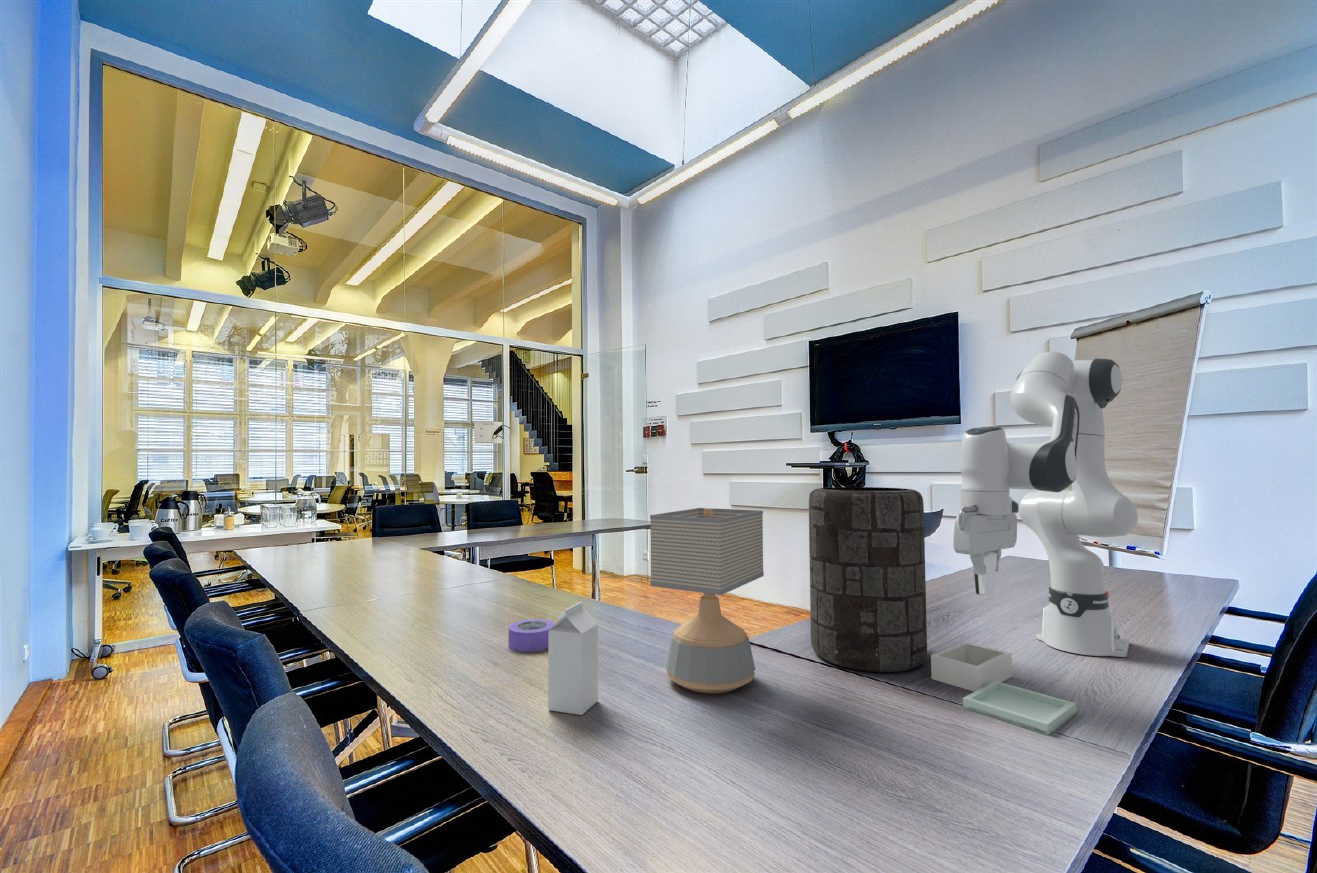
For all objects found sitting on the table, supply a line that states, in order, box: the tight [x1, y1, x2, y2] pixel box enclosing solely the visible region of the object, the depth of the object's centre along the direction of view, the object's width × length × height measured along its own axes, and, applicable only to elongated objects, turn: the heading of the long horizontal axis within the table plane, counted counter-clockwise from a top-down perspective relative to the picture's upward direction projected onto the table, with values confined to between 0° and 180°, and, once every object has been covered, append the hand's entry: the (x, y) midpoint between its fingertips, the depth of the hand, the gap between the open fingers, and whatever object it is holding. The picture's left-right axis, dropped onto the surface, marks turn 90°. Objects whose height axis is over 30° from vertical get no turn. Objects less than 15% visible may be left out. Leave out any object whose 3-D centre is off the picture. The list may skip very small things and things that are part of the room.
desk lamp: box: [649, 507, 765, 695], centre depth 123 cm, size 22×19×37 cm
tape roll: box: [507, 618, 556, 653], centre depth 148 cm, size 12×12×5 cm
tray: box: [962, 681, 1078, 736], centre depth 108 cm, size 14×14×2 cm
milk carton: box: [547, 601, 599, 716], centre depth 111 cm, size 7×7×19 cm
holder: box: [930, 641, 1013, 693], centre depth 124 cm, size 15×10×5 cm, turn 127°
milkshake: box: [972, 546, 1001, 597], centre depth 118 cm, size 4×5×10 cm
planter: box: [808, 486, 928, 673], centre depth 140 cm, size 26×26×40 cm
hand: (986, 573), depth 118 cm, fingers closed on milkshake, 4 cm apart
